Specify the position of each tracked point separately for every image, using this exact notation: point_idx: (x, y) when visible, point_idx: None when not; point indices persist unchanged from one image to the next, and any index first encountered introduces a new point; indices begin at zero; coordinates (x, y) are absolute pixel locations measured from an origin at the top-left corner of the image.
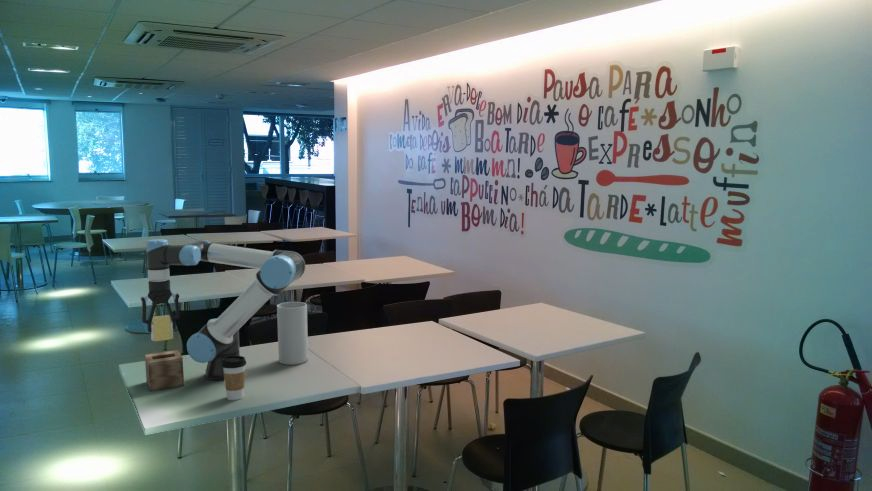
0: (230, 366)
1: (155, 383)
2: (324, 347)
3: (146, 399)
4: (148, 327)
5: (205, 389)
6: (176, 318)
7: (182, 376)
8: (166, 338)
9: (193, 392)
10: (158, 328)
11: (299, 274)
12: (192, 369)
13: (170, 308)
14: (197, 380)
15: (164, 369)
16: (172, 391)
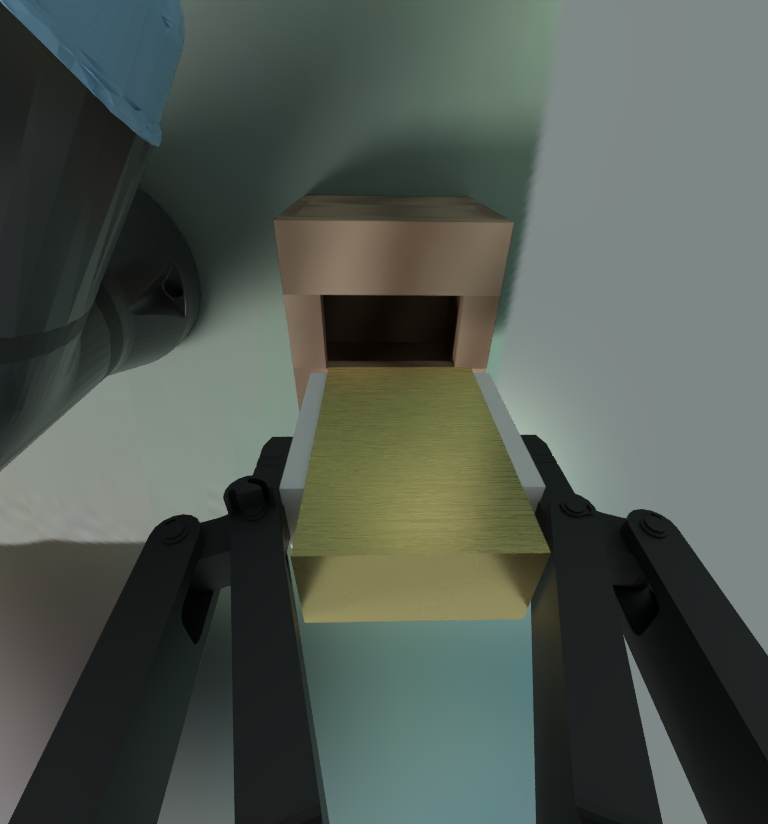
0: None
1: (447, 202)
2: None
3: (520, 47)
4: (556, 472)
5: (184, 28)
6: (215, 534)
7: (303, 202)
8: (369, 372)
9: (256, 7)
10: (450, 441)
11: None
12: (263, 406)
13: (242, 729)
14: (238, 244)
15: (402, 211)
16: (370, 120)
